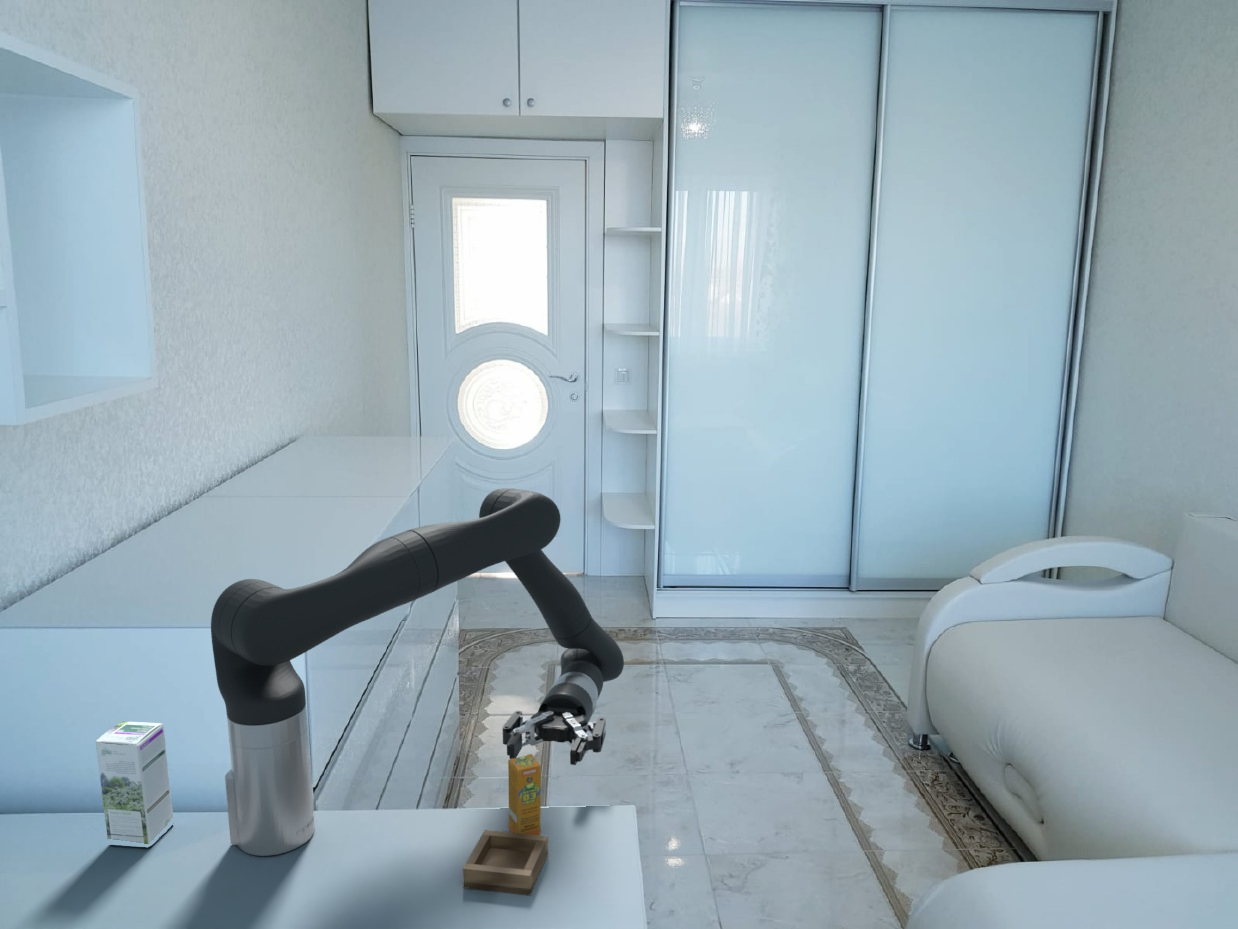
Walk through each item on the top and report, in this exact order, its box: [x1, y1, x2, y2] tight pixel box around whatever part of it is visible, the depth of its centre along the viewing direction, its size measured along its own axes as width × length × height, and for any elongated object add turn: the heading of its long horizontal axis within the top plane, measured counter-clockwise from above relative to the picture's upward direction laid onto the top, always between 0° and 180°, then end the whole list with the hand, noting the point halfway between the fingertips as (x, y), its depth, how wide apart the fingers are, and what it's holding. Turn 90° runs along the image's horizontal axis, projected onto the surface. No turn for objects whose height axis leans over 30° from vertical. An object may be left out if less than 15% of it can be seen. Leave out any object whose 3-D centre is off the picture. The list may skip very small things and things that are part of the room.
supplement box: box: [507, 753, 542, 835], centre depth 119 cm, size 3×3×10 cm
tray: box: [462, 829, 549, 896], centre depth 112 cm, size 8×8×2 cm
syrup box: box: [95, 721, 174, 844], centre depth 119 cm, size 6×6×14 cm
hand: (542, 756), depth 128 cm, fingers open, 8 cm apart
